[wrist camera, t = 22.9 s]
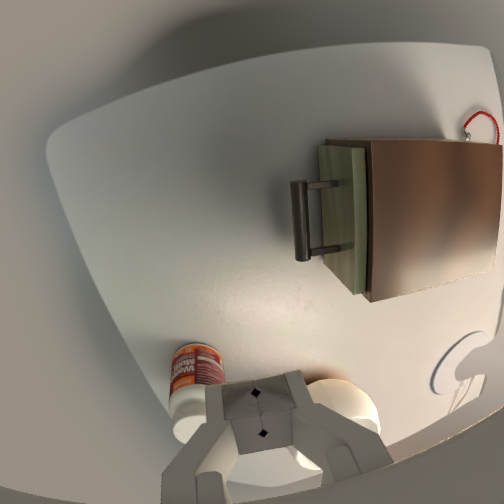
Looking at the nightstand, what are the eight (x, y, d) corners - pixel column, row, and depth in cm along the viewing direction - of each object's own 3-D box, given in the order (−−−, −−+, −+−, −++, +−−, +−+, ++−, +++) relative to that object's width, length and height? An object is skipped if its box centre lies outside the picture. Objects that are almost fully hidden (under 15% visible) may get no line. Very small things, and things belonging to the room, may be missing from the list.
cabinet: (331, 263, 36) (370, 303, 27) (325, 139, 31) (370, 140, 22) (443, 243, 37) (492, 270, 28) (446, 139, 33) (502, 145, 24)
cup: (280, 432, 44) (295, 481, 35) (268, 377, 40) (284, 432, 31) (356, 409, 45) (380, 453, 36) (357, 352, 41) (389, 398, 32)
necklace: (461, 155, 34) (466, 156, 33) (457, 109, 31) (462, 109, 31) (498, 153, 34) (503, 154, 33) (495, 112, 32) (500, 112, 31)
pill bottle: (187, 333, 36) (184, 402, 25) (232, 354, 38) (244, 423, 27) (163, 368, 37) (156, 438, 27) (207, 386, 39) (212, 455, 28)
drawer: (285, 269, 34) (307, 304, 27) (275, 148, 30) (298, 151, 23) (435, 243, 36) (475, 266, 29) (437, 143, 32) (483, 149, 25)
